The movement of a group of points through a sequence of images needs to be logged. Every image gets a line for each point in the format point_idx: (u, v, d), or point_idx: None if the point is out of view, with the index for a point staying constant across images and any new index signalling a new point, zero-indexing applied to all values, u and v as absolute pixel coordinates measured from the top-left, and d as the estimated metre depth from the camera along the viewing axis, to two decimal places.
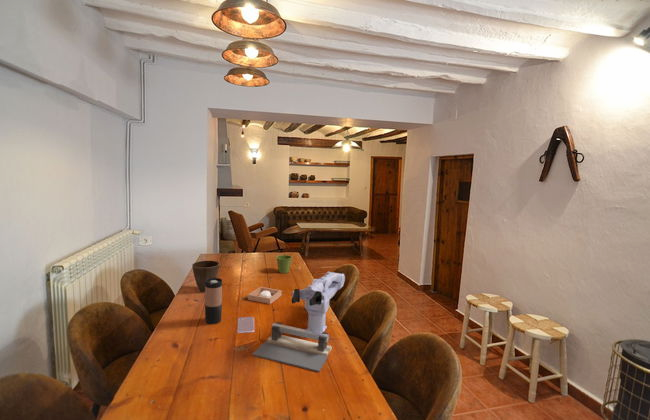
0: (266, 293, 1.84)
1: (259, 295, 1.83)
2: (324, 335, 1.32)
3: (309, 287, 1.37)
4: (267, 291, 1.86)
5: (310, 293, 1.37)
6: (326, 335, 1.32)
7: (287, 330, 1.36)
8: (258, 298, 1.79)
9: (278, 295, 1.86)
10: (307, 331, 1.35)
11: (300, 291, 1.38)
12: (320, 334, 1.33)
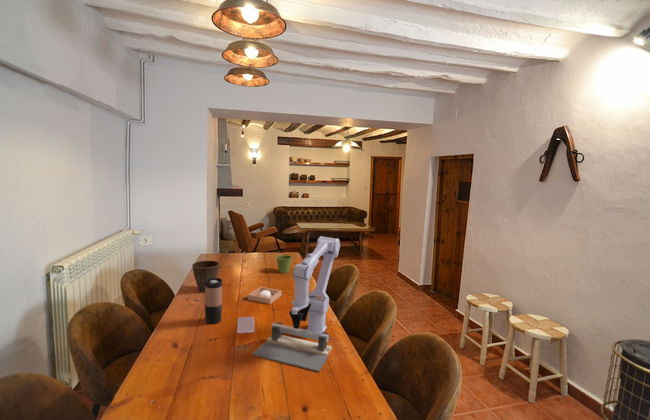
0: (266, 292, 1.84)
1: (259, 295, 1.84)
2: (324, 335, 1.32)
3: None
4: (267, 290, 1.87)
5: None
6: (326, 335, 1.32)
7: (287, 330, 1.36)
8: (258, 298, 1.79)
9: (278, 295, 1.86)
10: (307, 331, 1.35)
11: None
12: (320, 334, 1.33)
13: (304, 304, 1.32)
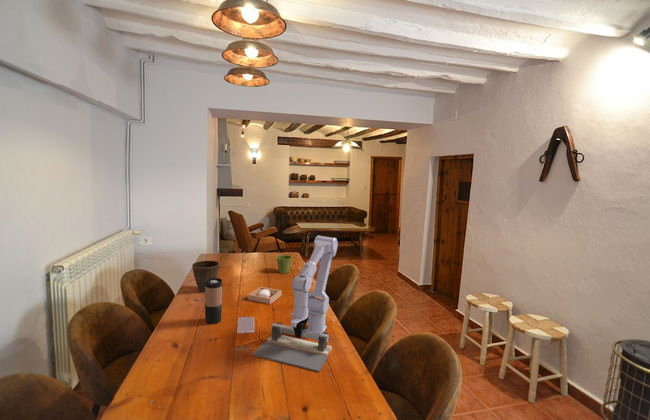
0: (265, 292, 1.86)
1: (258, 294, 1.85)
2: (324, 335, 1.32)
3: None
4: (266, 290, 1.88)
5: None
6: (326, 335, 1.32)
7: (287, 330, 1.36)
8: (258, 298, 1.79)
9: (278, 295, 1.86)
10: (307, 331, 1.35)
11: None
12: (320, 334, 1.33)
13: (303, 316, 1.32)
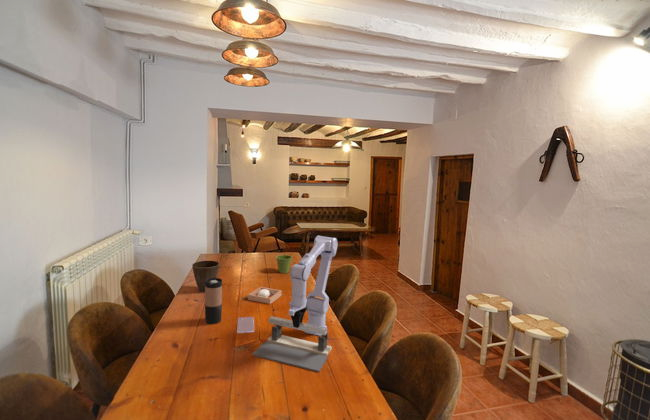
0: (265, 291, 1.86)
1: (258, 293, 1.85)
2: (322, 328, 1.29)
3: None
4: (266, 289, 1.88)
5: None
6: (324, 328, 1.29)
7: (285, 323, 1.33)
8: (258, 298, 1.79)
9: (278, 295, 1.86)
10: (305, 324, 1.32)
11: None
12: (318, 327, 1.30)
13: (301, 305, 1.29)
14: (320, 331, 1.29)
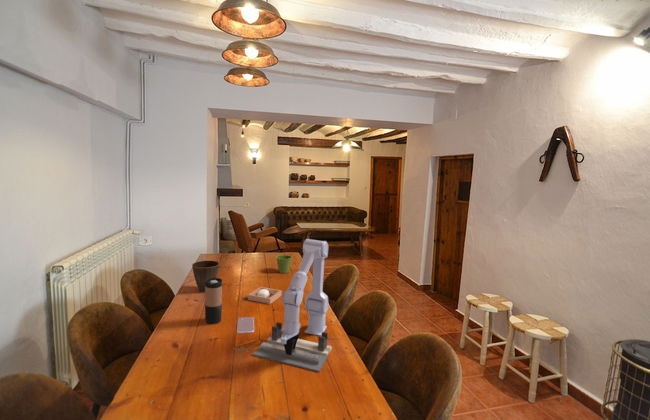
0: (264, 291, 1.86)
1: (257, 293, 1.86)
2: (316, 356, 1.24)
3: None
4: (265, 289, 1.88)
5: None
6: (318, 356, 1.24)
7: (277, 350, 1.28)
8: (258, 298, 1.79)
9: (278, 295, 1.86)
10: (298, 352, 1.26)
11: None
12: (312, 355, 1.24)
13: (294, 332, 1.24)
14: (313, 359, 1.23)
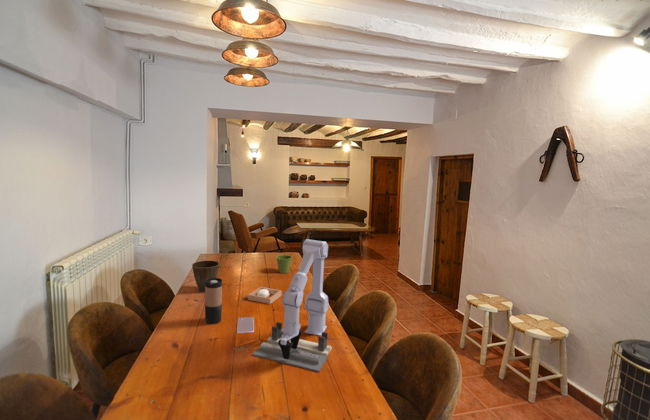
0: (264, 291, 1.86)
1: (257, 293, 1.86)
2: (316, 356, 1.24)
3: None
4: (265, 289, 1.88)
5: None
6: (318, 356, 1.24)
7: (277, 350, 1.28)
8: (258, 298, 1.79)
9: (278, 295, 1.86)
10: (298, 352, 1.26)
11: None
12: (312, 355, 1.24)
13: (294, 333, 1.24)
14: (313, 359, 1.23)
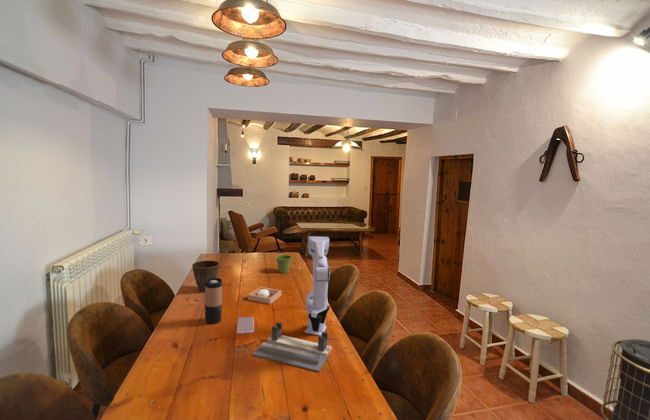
0: (264, 291, 1.86)
1: (257, 293, 1.86)
2: (316, 356, 1.24)
3: None
4: (265, 289, 1.88)
5: None
6: (318, 356, 1.24)
7: (277, 350, 1.28)
8: (258, 298, 1.79)
9: (278, 295, 1.86)
10: (298, 352, 1.26)
11: None
12: (312, 355, 1.24)
13: (323, 307, 1.30)
14: (313, 359, 1.23)
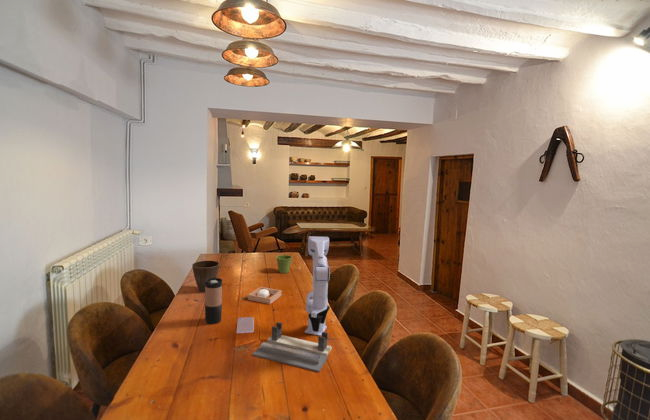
0: (264, 291, 1.86)
1: (257, 293, 1.86)
2: (316, 356, 1.24)
3: None
4: (265, 289, 1.88)
5: None
6: (318, 356, 1.24)
7: (277, 350, 1.28)
8: (258, 298, 1.79)
9: (278, 295, 1.86)
10: (298, 352, 1.26)
11: None
12: (312, 355, 1.24)
13: (323, 307, 1.30)
14: (313, 359, 1.23)
